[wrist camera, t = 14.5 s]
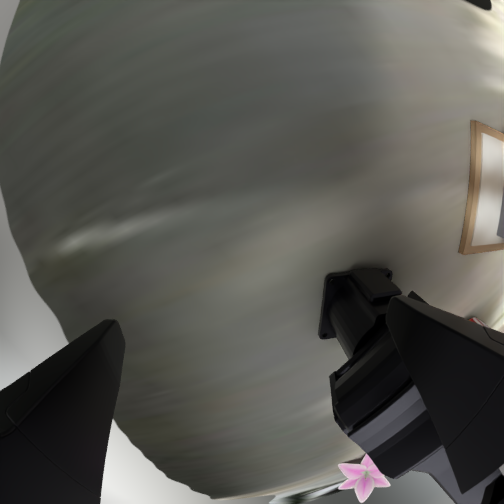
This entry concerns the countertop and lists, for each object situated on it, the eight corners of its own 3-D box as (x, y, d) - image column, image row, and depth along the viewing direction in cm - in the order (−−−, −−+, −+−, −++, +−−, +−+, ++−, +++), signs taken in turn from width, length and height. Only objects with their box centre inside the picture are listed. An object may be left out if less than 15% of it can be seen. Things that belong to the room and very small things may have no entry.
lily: (394, 437, 40) (402, 465, 31) (385, 471, 40) (390, 498, 30) (339, 443, 43) (338, 473, 34) (335, 476, 43) (333, 504, 34)
